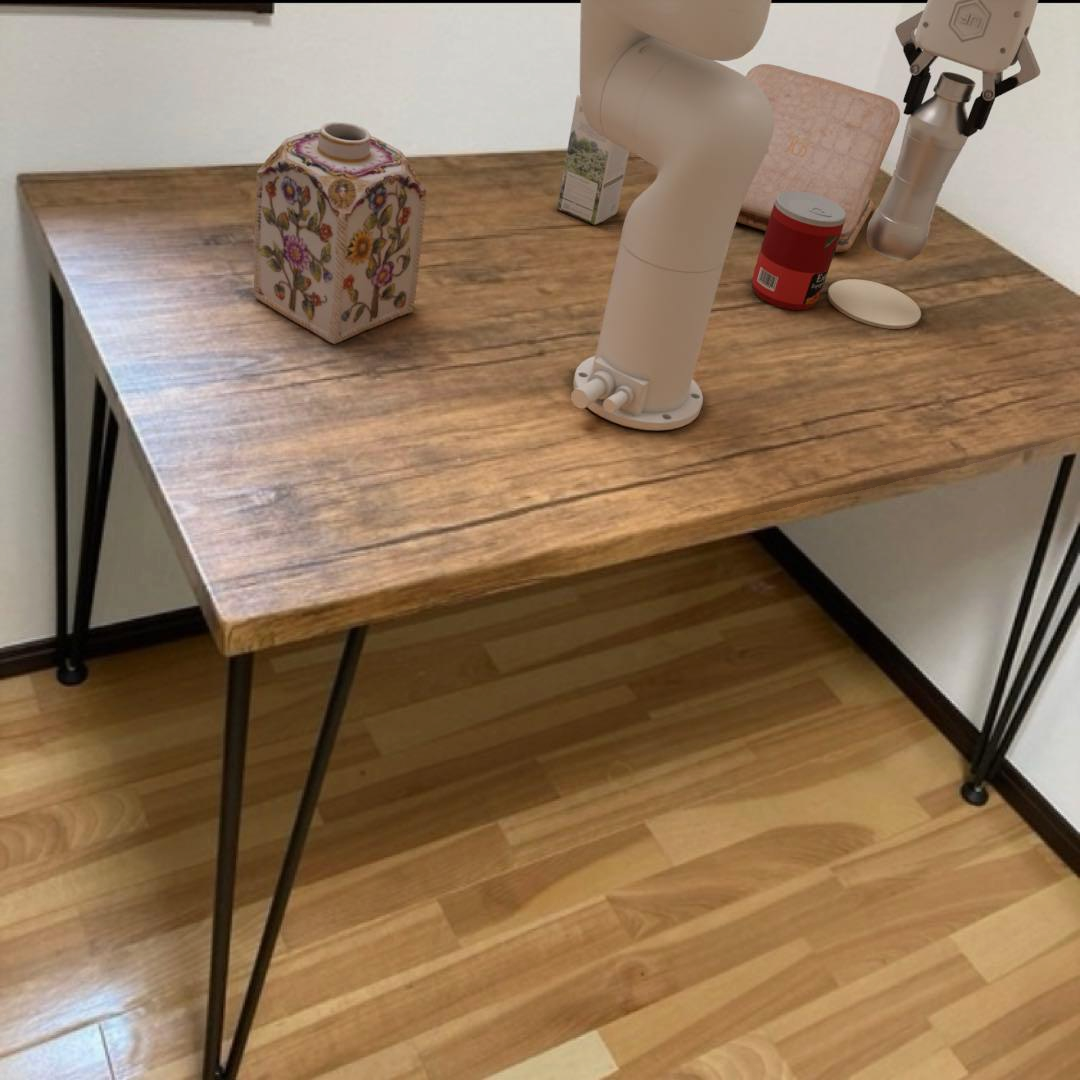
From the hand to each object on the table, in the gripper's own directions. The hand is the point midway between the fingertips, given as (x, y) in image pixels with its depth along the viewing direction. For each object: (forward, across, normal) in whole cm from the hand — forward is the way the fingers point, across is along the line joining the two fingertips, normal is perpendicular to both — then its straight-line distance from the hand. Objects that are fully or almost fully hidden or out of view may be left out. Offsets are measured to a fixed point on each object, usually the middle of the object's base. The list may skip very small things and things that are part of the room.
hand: (940, 121), depth 132 cm
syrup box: (+22, -36, -8) cm, 43 cm away
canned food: (+22, -8, -7) cm, 25 cm away
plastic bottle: (+16, 0, 0) cm, 16 cm away
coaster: (+22, 0, 0) cm, 22 cm away
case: (+22, -20, +16) cm, 34 cm away
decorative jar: (+22, -38, -50) cm, 67 cm away
